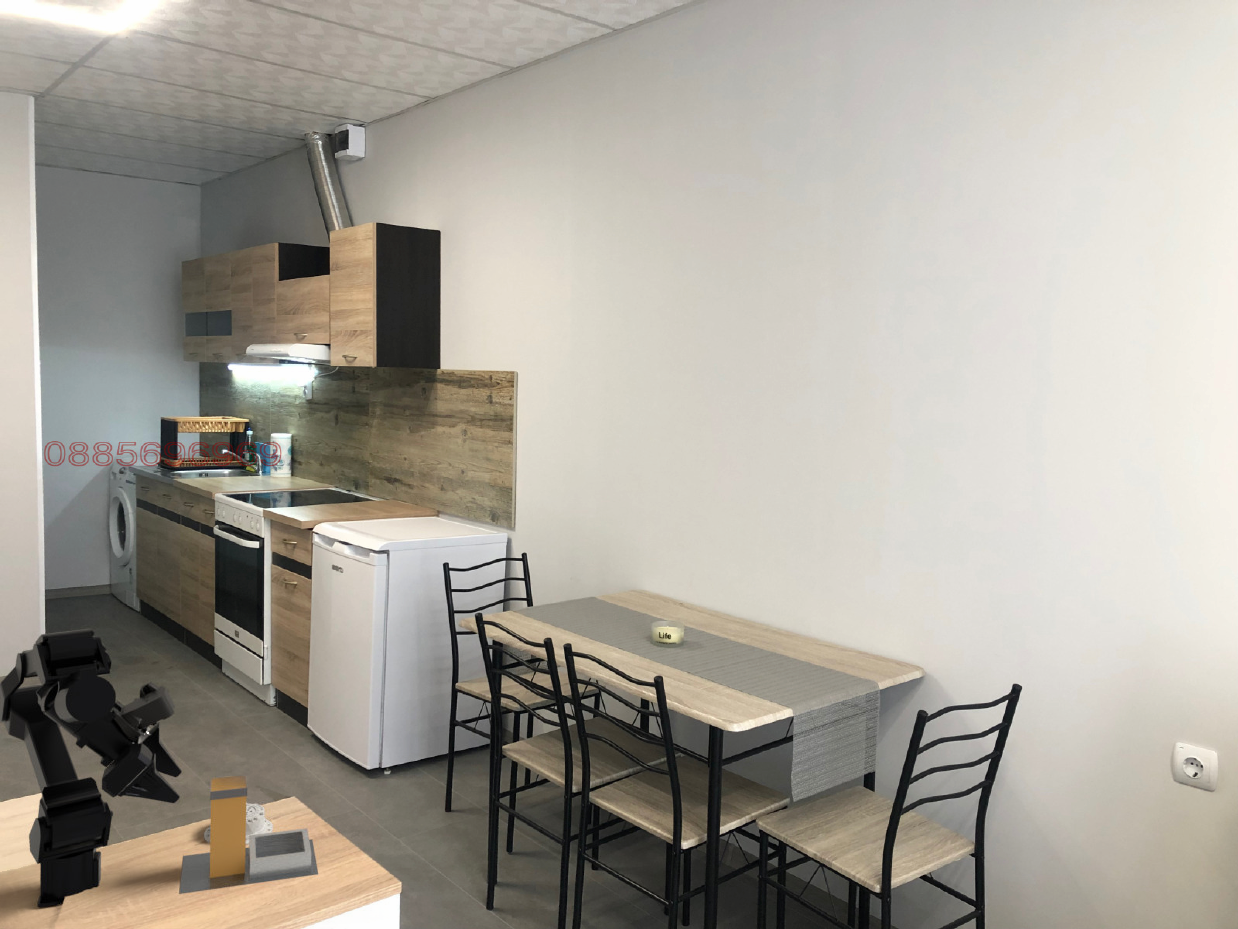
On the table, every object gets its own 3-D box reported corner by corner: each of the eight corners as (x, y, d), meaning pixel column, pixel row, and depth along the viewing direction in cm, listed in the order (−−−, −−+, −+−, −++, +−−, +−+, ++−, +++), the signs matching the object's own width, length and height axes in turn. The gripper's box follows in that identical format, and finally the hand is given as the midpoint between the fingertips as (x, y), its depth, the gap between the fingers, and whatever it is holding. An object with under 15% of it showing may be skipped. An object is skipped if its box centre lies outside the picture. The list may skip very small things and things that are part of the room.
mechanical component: (191, 839, 146) (225, 861, 140) (191, 812, 145) (226, 832, 139) (250, 819, 153) (285, 838, 147) (251, 792, 153) (286, 811, 147)
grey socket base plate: (179, 900, 128) (179, 876, 128) (183, 862, 138) (183, 839, 138) (318, 880, 135) (318, 857, 135) (312, 845, 145) (312, 823, 145)
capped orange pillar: (208, 878, 132) (210, 792, 131) (209, 862, 137) (210, 778, 136) (245, 873, 134) (247, 787, 133) (244, 857, 138) (246, 774, 138)
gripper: (131, 692, 120) (224, 767, 125) (141, 654, 137) (222, 721, 143) (60, 760, 118) (157, 833, 123) (79, 712, 135) (163, 778, 140)
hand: (178, 787), depth 132 cm, fingers open, 9 cm apart
